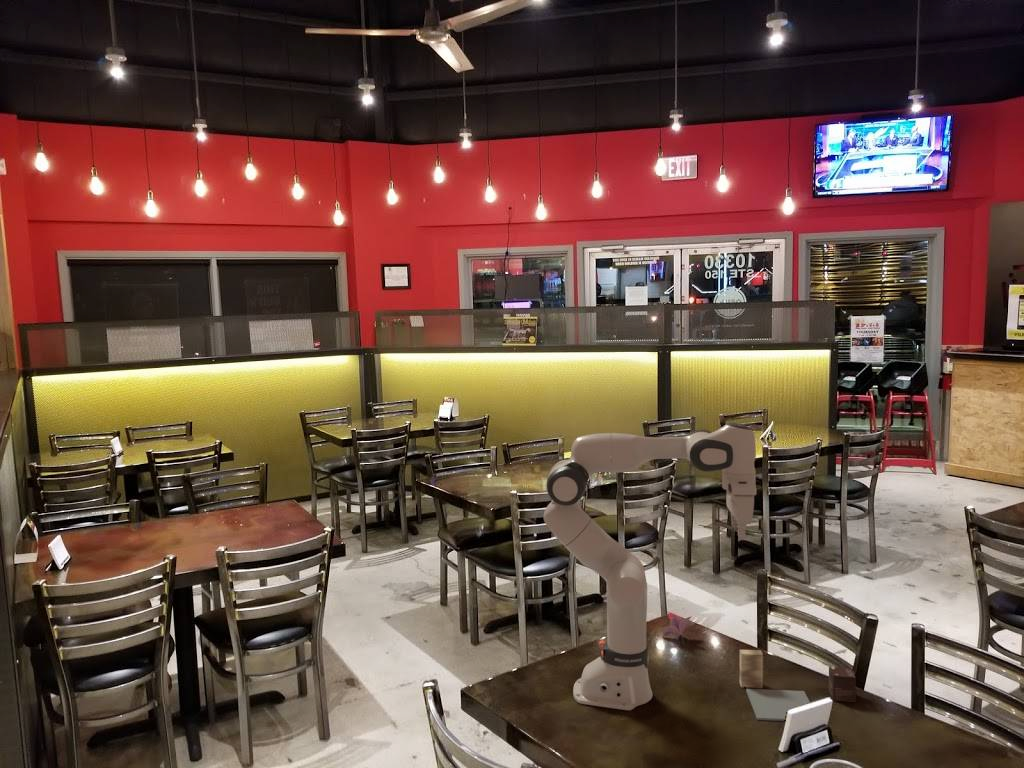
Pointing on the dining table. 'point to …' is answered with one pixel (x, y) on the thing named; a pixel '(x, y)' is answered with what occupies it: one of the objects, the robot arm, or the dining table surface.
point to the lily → (677, 626)
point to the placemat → (775, 702)
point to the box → (842, 684)
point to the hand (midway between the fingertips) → (738, 531)
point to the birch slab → (751, 669)
